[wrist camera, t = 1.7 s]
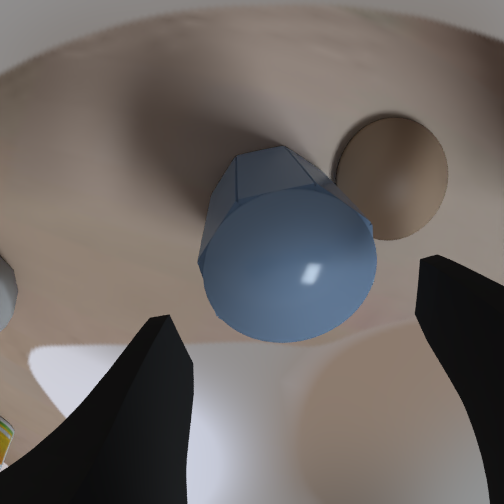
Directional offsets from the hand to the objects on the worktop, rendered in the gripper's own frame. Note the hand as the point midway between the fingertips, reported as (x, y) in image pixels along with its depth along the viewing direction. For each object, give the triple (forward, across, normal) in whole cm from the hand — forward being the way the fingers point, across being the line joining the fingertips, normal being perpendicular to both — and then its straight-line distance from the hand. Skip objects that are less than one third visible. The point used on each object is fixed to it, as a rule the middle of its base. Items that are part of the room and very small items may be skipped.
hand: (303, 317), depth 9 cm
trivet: (+9, -7, 0) cm, 11 cm away
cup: (+9, 0, 0) cm, 9 cm away
